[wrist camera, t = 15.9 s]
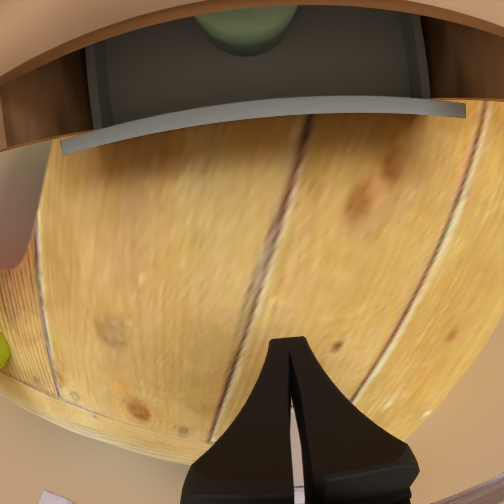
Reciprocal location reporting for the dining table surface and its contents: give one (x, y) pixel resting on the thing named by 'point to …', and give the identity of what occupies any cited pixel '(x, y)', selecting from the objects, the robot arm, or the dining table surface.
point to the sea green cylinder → (247, 28)
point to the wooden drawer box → (191, 4)
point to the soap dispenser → (4, 351)
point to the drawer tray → (258, 74)
